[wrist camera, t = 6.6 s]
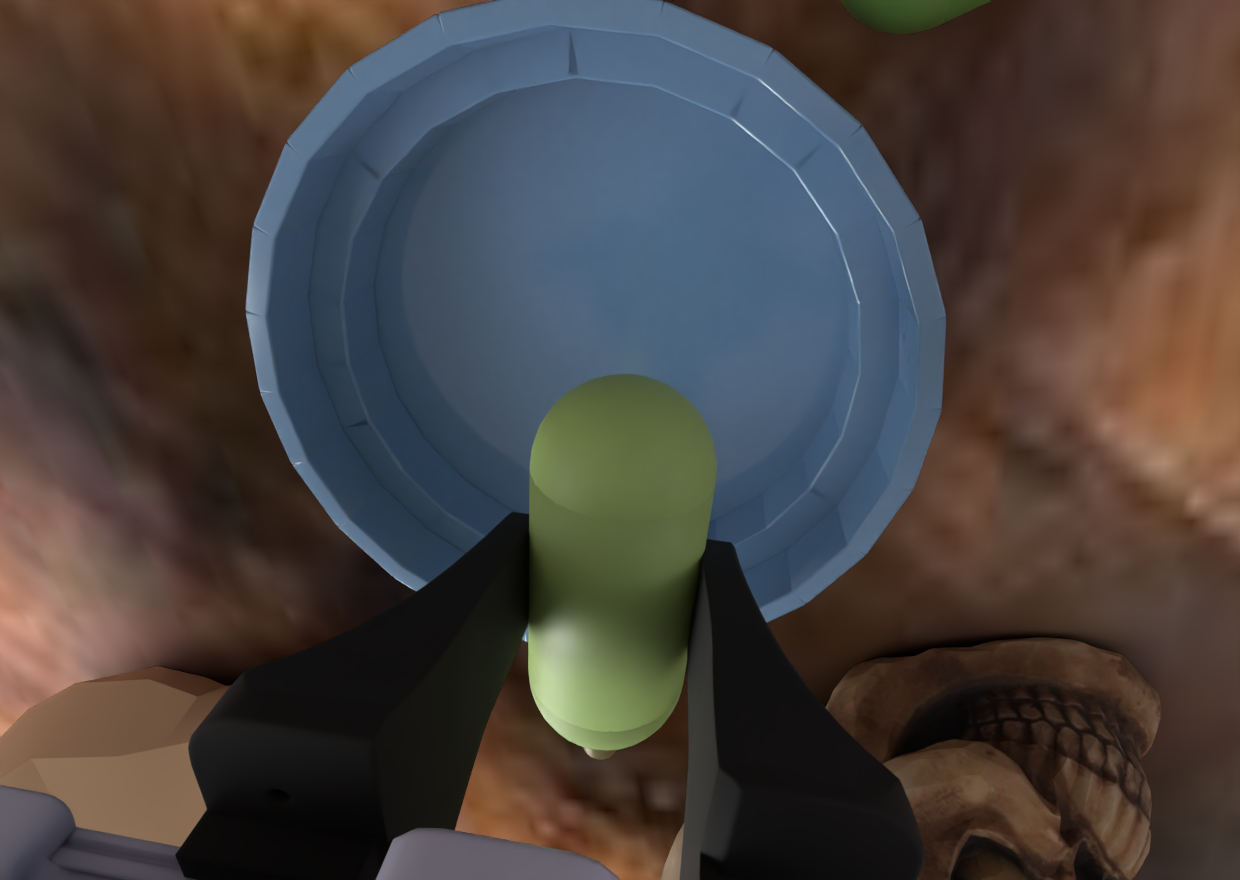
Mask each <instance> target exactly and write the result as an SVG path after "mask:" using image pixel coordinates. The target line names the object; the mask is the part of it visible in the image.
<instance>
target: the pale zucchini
mask: <svg viewBox="0 0 1240 880" xmlns="http://www.w3.org/2000/svg"><path fill="white" fill-rule="evenodd" d="M716 476H717V460H716V454H715V448H714V443H713V438H712V436H711V434H710V431H709V429H708V427H707V425H706V423H705V421H704V419H703V417H702V416H701V414H700V413H699V412H698V411H697V409H696V408H695V407H694V405H693V404H692V403H691V402H690V401H689V400H688V399H687V398H686V397H684V396H683V395H682V394H681V393H679V392H678V391H677V390H675V389H674V388H672V387H671V386H669V385H667V384H665V383H663V382H660V381H658V380H655V379H652V378H649V377H646V376H642V375H636V374H612V375H607V376H602V377H597V378H594V379H591V380H588V381H586V382H584V383H582V384H580V385H579V386H577V387H575V388H573V389H571V390H570V391H569V392H567V393H566V394H565V395H564V396H562V397H561V398H560V399H559V400H558V401H557V402H556V403H555V404H554V405H553V406H552V408H551V409H550V410H549V412H548V413H547V415H546V416H545V418H544V419H543V421H542V422H541V424H540V426H539V428H538V431H537V434H536V437H535V439H534V442H533V446H532V450H531V458H530V484H529V644H528V671H529V680H530V687H531V691H532V694H533V697H534V700H535V702H536V704H537V706H538V709H539V710H540V712H541V714H542V715H543V717H544V719H545V720H546V721H547V722H548V723H549V724H550V725H551V726H552V727H553V728H554V729H555V730H556V731H557V732H558V733H559V734H560V735H562V736H563V737H565V738H566V739H567V740H569V741H571V742H573V743H575V744H577V745H580V746H583V748H584V750H585V752H586V753H587V754H588V755H589V756H591V757H593V758H595V759H606V758H609V757H610V756H612V755H613V754H614V753H615V752H616V750H617V749H622V748H626V747H630V746H633V745H635V744H637V743H639V742H641V741H643V740H645V739H646V738H648V737H649V736H650V735H652V734H653V733H654V732H656V731H657V730H658V729H659V728H660V727H661V726H662V725H663V724H664V722H665V721H666V720H667V719H668V717H669V716H670V715H671V713H672V712H673V710H674V708H675V706H676V704H677V702H678V700H679V697H680V693H681V690H682V687H683V682H684V676H685V669H686V663H687V648H688V641H689V635H690V629H691V623H692V616H693V610H694V604H695V598H696V591H697V585H698V579H699V573H700V567H701V560H702V555H703V553H704V551H705V546H706V540H707V534H708V528H709V522H710V515H711V509H712V503H713V497H714V491H715V485H716Z"/></svg>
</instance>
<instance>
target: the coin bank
mask: <svg viewBox="0 0 1240 880" xmlns="http://www.w3.org/2000/svg"><path fill="white" fill-rule="evenodd" d="M825 708H826V709H827V710H828V711H829V712H830V714H831V715H832V716H833V717H834V718H835V719H836V720H837V722H838V723H839V724H840V725H841V726H842V727H843V728H844V729H845V730H846V731H847V732H848V733H849V734H850V735H851V736H852V737H853V738H854V739H855V740H856V741H857V742H858V743H859V744H860V745H861V746H862V747H863V748H864V749H866V750H867V751H868V752H869V753H870V754H871V755H873V756H874V757H875V758H876V759H877V760H878V761H879V762H881V763H882V764H883V765H884V766H885V767H886V768H887V769H889V770H890V771H891V772H892V773H893V774H894V775H895V776H897V777H898V778H899V779H900V781H901V783H902V786H903V788H904V790H905V793H906V795H907V798H908V800H909V802H910V805H911V808H912V810H913V813H914V816H915V818H916V821H917V824H918V827H919V831H920V834H921V838H922V843H923V849H924V854H925V860H924V864H923V868H922V871H921V873H920V875H919V877H918V879H917V880H1132V879H1133V878H1134V877H1135V876H1136V874H1137V872H1138V871H1139V869H1140V868H1141V866H1142V864H1143V862H1144V860H1145V858H1146V856H1147V855H1148V853H1149V851H1150V840H1151V830H1150V818H1151V806H1152V798H1151V792H1150V788H1149V786H1148V783H1147V778H1146V775H1145V773H1144V771H1143V769H1142V767H1141V764H1140V759H1141V758H1142V757H1144V756H1145V755H1146V754H1147V752H1148V750H1149V749H1150V747H1151V746H1152V744H1153V741H1154V738H1155V735H1156V733H1157V730H1158V726H1159V722H1160V719H1161V715H1162V714H1161V703H1160V699H1159V695H1158V692H1157V691H1156V690H1155V689H1154V688H1153V687H1152V686H1151V685H1150V684H1149V683H1148V682H1147V681H1146V680H1145V679H1144V678H1143V677H1142V675H1141V674H1140V673H1139V672H1138V671H1137V670H1136V668H1135V667H1134V666H1133V665H1132V664H1131V663H1130V662H1129V661H1128V660H1127V659H1126V658H1125V657H1124V656H1123V655H1122V654H1119V653H1115V652H1111V651H1107V650H1104V649H1100V648H1096V647H1092V646H1090V645H1087V644H1085V643H1083V642H1080V641H1076V640H1073V639H1060V638H1046V637H1036V638H1023V639H1009V640H996V641H991V642H987V643H984V644H980V645H976V646H973V647H952V648H932V649H929V650H927V651H925V652H923V653H921V654H919V655H917V656H909V657H896V658H886V657H882V658H878V659H874V660H870V661H866V662H862V663H859V664H857V665H856V666H855V667H853V668H852V669H850V670H849V671H848V672H847V673H846V674H845V675H844V677H843V678H842V679H841V681H840V682H839V684H838V685H837V686H836V688H835V689H834V691H833V692H832V695H831V697H830V700H829V702H828V703H827V705H826V707H825ZM683 831H684V824H683V826H682V827H681V829H680V831H679V832H678V834H677V836H676V839H675V841H674V843H673V846H672V848H671V851H670V853H669V856H668V858H667V860H666V863H665V865H664V869H663V873H662V878H661V880H680V868H681V856H682V844H683Z"/></svg>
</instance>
